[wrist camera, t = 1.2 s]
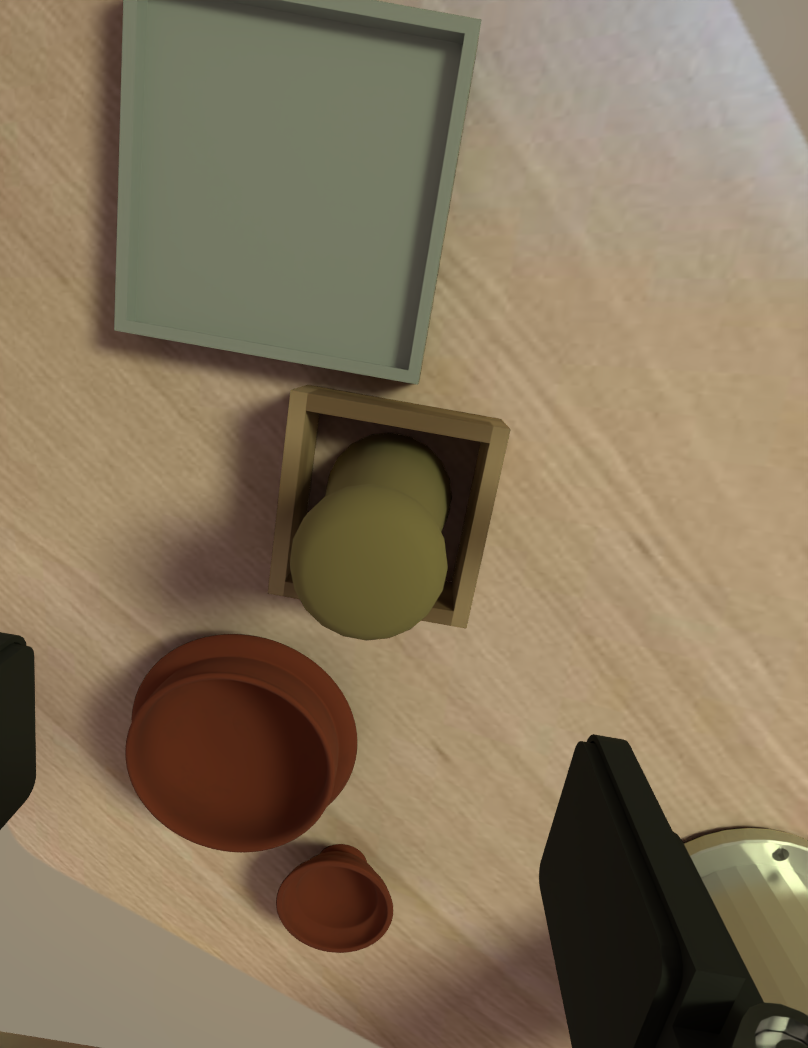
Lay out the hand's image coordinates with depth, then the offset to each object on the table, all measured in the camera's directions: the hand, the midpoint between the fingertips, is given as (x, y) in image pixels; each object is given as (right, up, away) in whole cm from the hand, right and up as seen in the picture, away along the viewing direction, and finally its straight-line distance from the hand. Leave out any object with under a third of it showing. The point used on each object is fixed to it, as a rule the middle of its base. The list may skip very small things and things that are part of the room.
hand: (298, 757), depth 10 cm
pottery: (-5, -10, +24) cm, 26 cm away
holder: (+1, +5, +19) cm, 19 cm away
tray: (-3, +18, +15) cm, 23 cm away
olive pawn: (+1, +5, +19) cm, 20 cm away
